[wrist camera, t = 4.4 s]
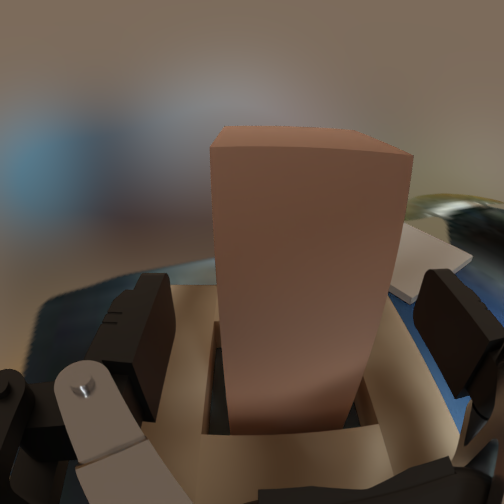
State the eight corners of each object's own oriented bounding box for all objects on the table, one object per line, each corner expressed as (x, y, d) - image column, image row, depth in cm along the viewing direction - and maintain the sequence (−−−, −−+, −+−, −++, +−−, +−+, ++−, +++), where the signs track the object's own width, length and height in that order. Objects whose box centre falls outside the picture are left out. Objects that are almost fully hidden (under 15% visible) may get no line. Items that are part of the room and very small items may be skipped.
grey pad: (384, 218, 36) (385, 214, 35) (471, 261, 26) (472, 255, 26) (307, 241, 30) (307, 235, 30) (410, 304, 21) (412, 297, 21)
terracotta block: (323, 357, 17) (354, 130, 12) (340, 432, 13) (413, 155, 7) (233, 360, 17) (224, 126, 11) (230, 438, 13) (209, 146, 7)
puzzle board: (373, 306, 21) (379, 281, 20) (452, 490, 9) (474, 471, 8) (168, 309, 21) (163, 284, 20) (116, 513, 9) (97, 498, 8)
